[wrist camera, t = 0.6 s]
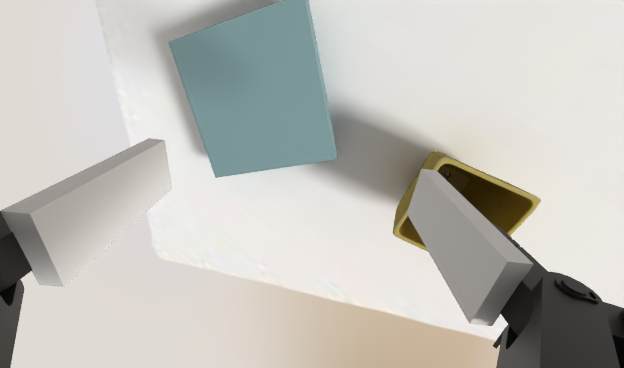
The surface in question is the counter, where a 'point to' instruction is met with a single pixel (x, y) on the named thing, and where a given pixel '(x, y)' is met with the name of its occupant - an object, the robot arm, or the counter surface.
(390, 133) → the counter surface
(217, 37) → the teal stand
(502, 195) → the flower pot
